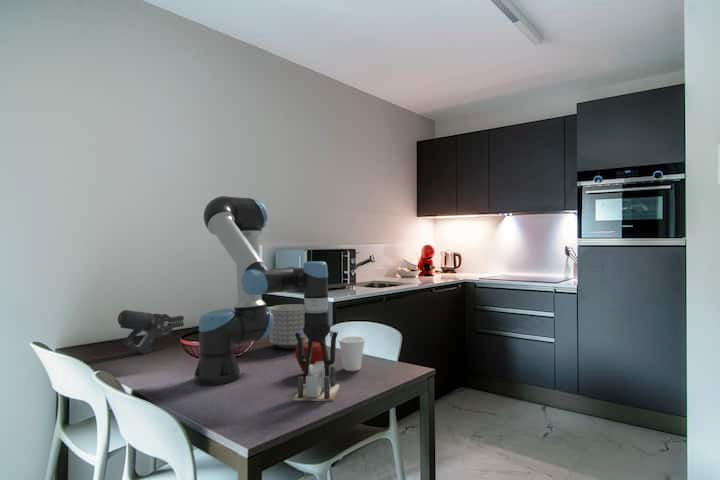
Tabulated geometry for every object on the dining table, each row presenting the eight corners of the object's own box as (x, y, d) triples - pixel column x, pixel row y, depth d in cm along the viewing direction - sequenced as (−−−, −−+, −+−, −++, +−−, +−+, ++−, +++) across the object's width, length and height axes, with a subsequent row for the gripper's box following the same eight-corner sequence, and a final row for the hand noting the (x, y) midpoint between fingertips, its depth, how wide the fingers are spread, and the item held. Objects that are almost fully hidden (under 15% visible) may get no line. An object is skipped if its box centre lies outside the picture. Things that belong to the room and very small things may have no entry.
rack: (293, 400, 122) (292, 378, 122) (303, 385, 135) (303, 365, 135) (333, 401, 121) (332, 378, 121) (339, 386, 134) (339, 365, 134)
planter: (317, 342, 196) (316, 304, 196) (303, 353, 177) (302, 310, 178) (280, 341, 200) (279, 303, 200) (262, 351, 182) (261, 309, 182)
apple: (292, 372, 150) (292, 338, 150) (320, 368, 154) (320, 335, 155) (300, 381, 140) (300, 345, 140) (330, 376, 144) (330, 342, 144)
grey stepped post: (318, 397, 120) (318, 376, 120) (305, 397, 120) (304, 376, 120) (328, 379, 136) (328, 361, 137) (316, 379, 137) (316, 361, 137)
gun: (115, 357, 174) (114, 310, 174) (178, 344, 197) (178, 302, 197) (122, 360, 170) (122, 311, 170) (186, 346, 193) (185, 303, 193)
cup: (362, 373, 147) (362, 342, 147) (335, 372, 149) (335, 341, 149) (367, 365, 157) (367, 336, 157) (342, 364, 159) (342, 336, 159)
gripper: (287, 313, 126) (288, 390, 125) (340, 312, 124) (342, 391, 124) (293, 309, 133) (294, 382, 133) (344, 309, 132) (345, 382, 131)
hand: (317, 386), depth 128 cm, fingers closed on grey stepped post, 3 cm apart
